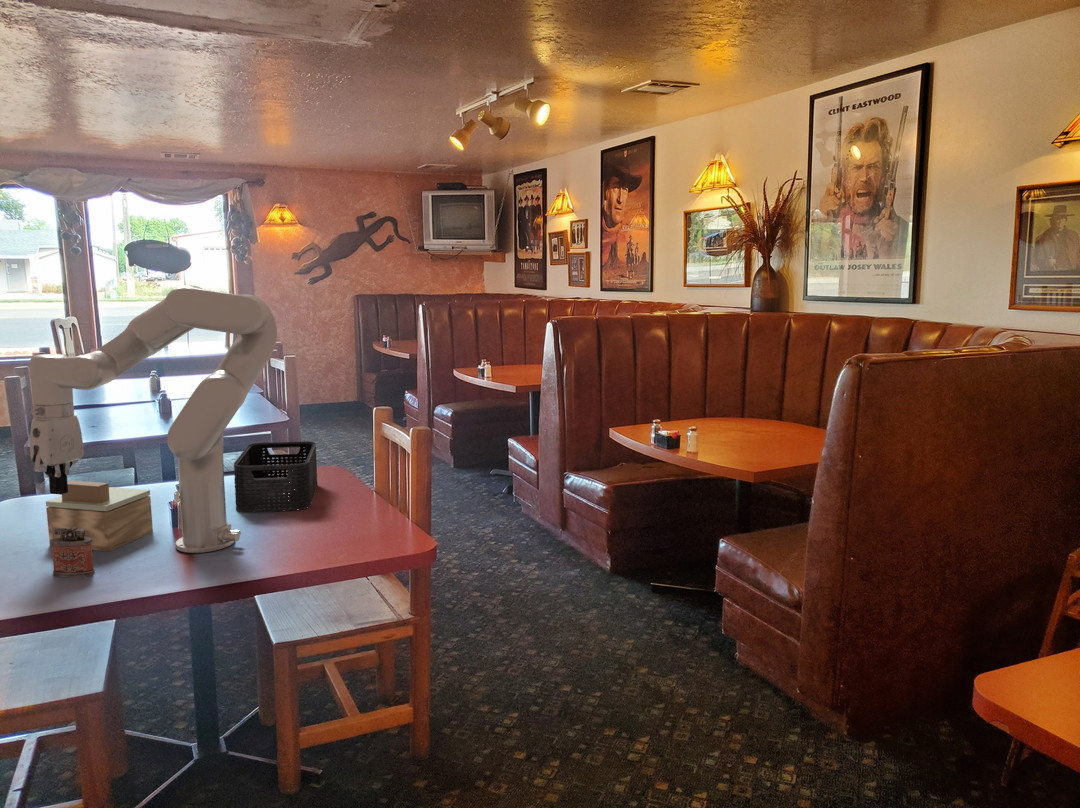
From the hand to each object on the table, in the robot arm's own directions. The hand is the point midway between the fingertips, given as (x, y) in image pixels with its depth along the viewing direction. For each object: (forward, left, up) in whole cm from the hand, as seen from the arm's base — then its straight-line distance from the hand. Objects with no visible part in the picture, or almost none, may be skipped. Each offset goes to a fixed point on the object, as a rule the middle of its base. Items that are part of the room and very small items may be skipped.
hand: (59, 493), depth 169 cm
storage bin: (-22, -53, -14) cm, 59 cm away
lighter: (-12, +10, -14) cm, 21 cm away
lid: (0, -11, -5) cm, 12 cm away
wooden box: (0, -11, -14) cm, 18 cm away
